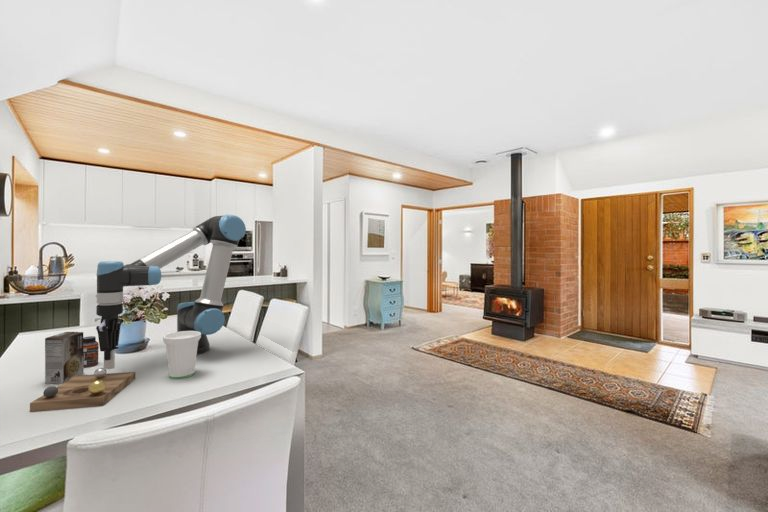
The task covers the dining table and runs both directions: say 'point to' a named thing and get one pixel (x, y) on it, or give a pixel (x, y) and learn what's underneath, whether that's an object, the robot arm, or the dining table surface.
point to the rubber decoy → (50, 391)
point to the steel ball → (100, 373)
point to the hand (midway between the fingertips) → (109, 367)
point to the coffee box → (63, 357)
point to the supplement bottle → (90, 351)
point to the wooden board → (83, 392)
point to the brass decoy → (97, 387)
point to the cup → (181, 353)
